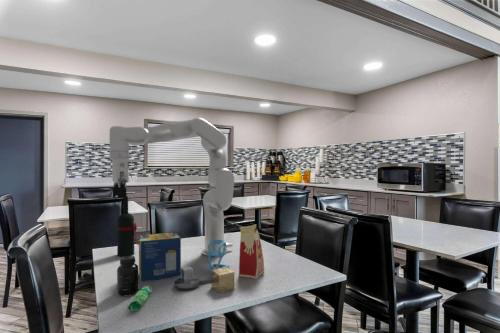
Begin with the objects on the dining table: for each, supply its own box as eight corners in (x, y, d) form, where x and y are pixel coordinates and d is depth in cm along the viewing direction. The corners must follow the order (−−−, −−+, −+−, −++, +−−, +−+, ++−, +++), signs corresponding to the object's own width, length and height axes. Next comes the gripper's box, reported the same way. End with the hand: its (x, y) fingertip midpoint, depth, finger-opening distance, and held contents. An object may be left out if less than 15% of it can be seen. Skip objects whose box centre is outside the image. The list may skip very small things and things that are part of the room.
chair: (204, 271, 123) (203, 242, 123) (213, 265, 131) (213, 237, 131) (220, 273, 121) (220, 243, 121) (229, 267, 128) (229, 239, 128)
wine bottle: (136, 256, 145) (135, 194, 145) (114, 257, 144) (114, 194, 144) (141, 252, 152) (141, 193, 153) (121, 252, 152) (120, 193, 152)
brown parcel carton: (226, 283, 110) (226, 267, 110) (234, 288, 105) (234, 271, 105) (211, 287, 107) (211, 270, 107) (219, 292, 102) (219, 275, 102)
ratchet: (226, 272, 122) (226, 256, 122) (237, 279, 114) (237, 262, 114) (170, 284, 110) (170, 267, 110) (179, 293, 102) (179, 274, 102)
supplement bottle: (121, 288, 106) (121, 254, 106) (140, 287, 107) (140, 254, 107) (114, 297, 99) (113, 260, 99) (135, 296, 100) (135, 260, 100)
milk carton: (264, 270, 123) (264, 222, 124) (257, 278, 115) (257, 226, 115) (243, 268, 126) (243, 221, 127) (235, 276, 118) (235, 225, 118)
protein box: (138, 273, 122) (138, 235, 122) (177, 268, 128) (176, 231, 128) (140, 282, 112) (139, 241, 112) (181, 276, 118) (181, 237, 118)
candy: (143, 309, 89) (135, 298, 89) (133, 315, 89) (125, 304, 89) (154, 292, 101) (147, 282, 101) (145, 298, 101) (138, 288, 101)
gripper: (133, 155, 121) (133, 197, 121) (124, 156, 135) (124, 194, 135) (113, 154, 117) (113, 198, 117) (106, 156, 131) (106, 195, 131)
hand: (119, 196), depth 126 cm, fingers open, 9 cm apart
